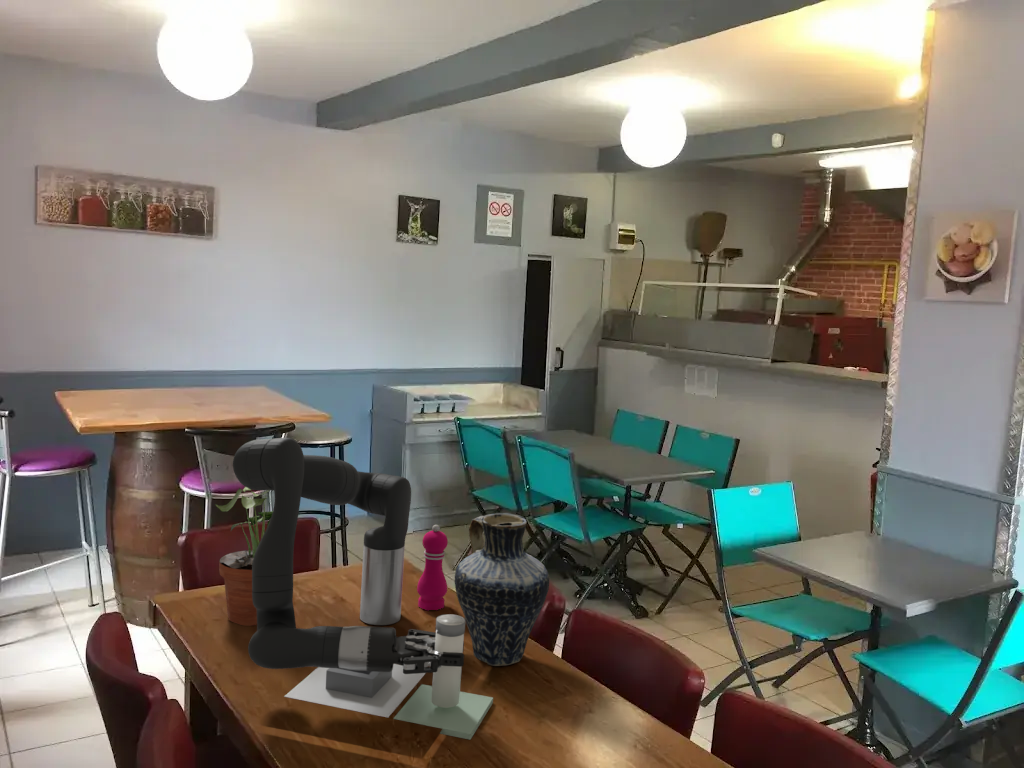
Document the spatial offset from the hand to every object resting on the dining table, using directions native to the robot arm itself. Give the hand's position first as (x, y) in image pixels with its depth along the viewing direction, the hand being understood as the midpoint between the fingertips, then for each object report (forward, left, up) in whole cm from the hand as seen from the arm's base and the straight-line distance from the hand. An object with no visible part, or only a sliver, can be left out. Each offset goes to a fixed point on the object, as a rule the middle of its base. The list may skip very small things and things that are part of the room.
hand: (463, 653), depth 149 cm
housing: (-2, -20, -11) cm, 23 cm away
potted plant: (-24, -57, -11) cm, 63 cm away
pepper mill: (-47, -22, -11) cm, 54 cm away
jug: (-25, 0, -11) cm, 28 cm away
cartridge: (+1, -2, -9) cm, 9 cm away
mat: (+1, -2, -11) cm, 12 cm away
